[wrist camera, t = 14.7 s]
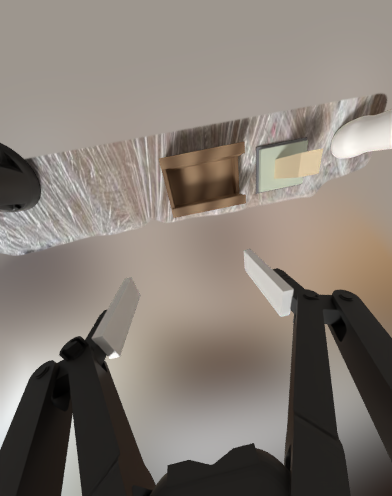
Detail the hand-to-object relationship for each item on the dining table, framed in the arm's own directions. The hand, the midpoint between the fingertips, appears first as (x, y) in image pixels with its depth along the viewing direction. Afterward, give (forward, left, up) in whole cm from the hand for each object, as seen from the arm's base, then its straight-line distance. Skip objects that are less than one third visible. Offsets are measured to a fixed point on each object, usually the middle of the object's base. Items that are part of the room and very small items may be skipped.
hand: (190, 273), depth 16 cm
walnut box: (+1, +11, -28) cm, 30 cm away
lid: (+20, +21, -27) cm, 40 cm away
